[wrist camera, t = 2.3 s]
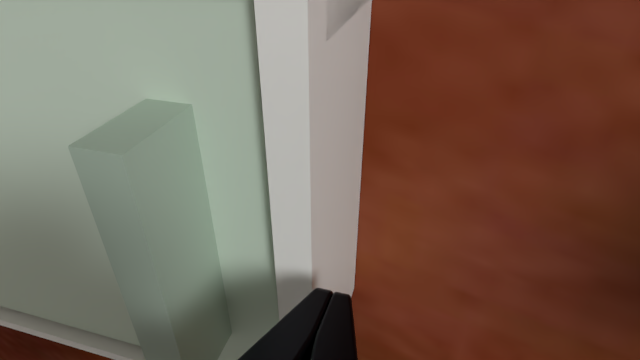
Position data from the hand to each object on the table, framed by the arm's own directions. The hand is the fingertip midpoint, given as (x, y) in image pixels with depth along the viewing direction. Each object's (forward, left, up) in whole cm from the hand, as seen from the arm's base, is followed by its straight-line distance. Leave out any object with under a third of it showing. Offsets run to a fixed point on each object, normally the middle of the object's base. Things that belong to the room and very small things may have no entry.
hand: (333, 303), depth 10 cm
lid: (0, +9, -2) cm, 9 cm away
